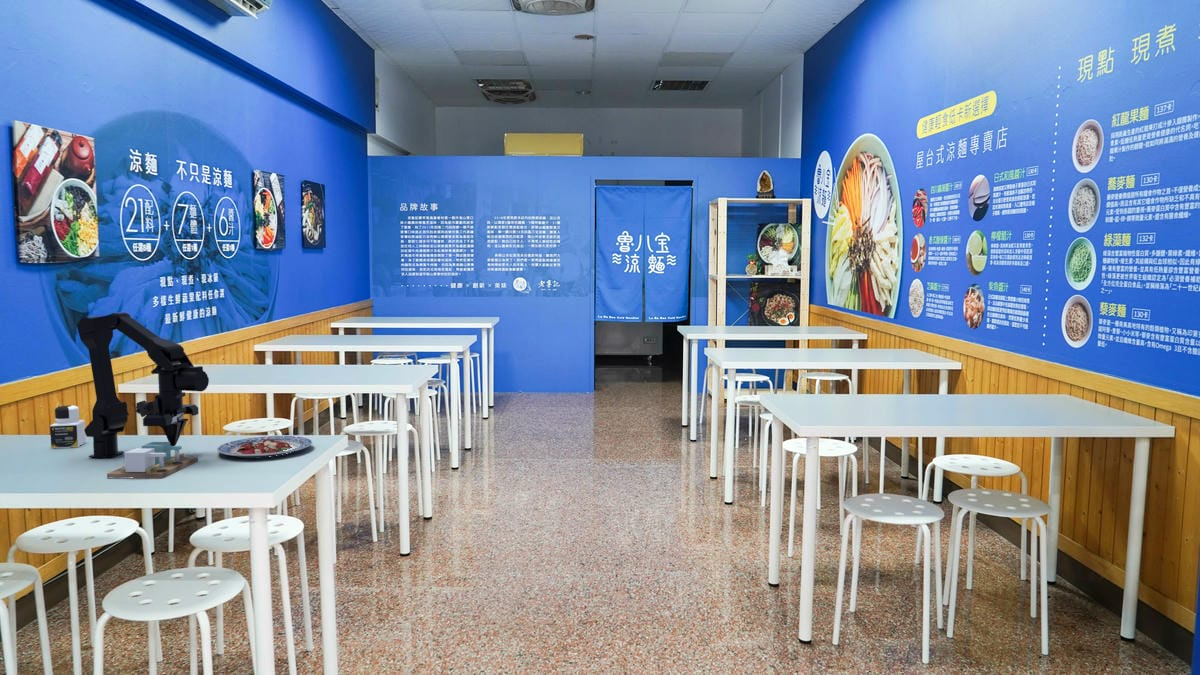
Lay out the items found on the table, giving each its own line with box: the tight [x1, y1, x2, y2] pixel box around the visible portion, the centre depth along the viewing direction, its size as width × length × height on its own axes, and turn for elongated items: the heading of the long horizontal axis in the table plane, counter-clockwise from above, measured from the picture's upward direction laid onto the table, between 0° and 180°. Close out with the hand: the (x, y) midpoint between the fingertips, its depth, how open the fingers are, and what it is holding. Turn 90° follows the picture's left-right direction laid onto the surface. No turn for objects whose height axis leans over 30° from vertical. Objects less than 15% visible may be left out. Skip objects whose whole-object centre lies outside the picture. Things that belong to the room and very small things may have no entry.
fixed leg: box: [124, 447, 166, 472], centre depth 220 cm, size 5×9×5 cm, turn 89°
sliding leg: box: [141, 441, 183, 465], centre depth 227 cm, size 5×9×5 cm, turn 89°
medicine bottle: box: [49, 404, 87, 449], centre depth 255 cm, size 7×7×12 cm
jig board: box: [106, 452, 199, 479], centre depth 226 cm, size 19×14×2 cm
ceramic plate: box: [216, 435, 313, 459], centre depth 247 cm, size 26×26×3 cm
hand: (173, 445), depth 236 cm, fingers closed
